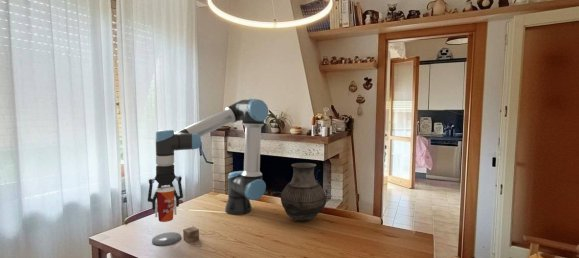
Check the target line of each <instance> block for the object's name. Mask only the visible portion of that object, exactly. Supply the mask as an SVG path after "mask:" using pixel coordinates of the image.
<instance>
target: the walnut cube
mask: <svg viewBox="0 0 579 258" xmlns="http://www.w3.org/2000/svg"><path fill="white" fill-rule="evenodd" d="M182 231H183V233H182V235H183V237H182V240H183V241H184V242H186V243H187V244H191V243H194V242H195V243H196V242H197V241H200V229H199V228H197V227H195V226H189V227H186V228H183V230H182Z"/></svg>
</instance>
